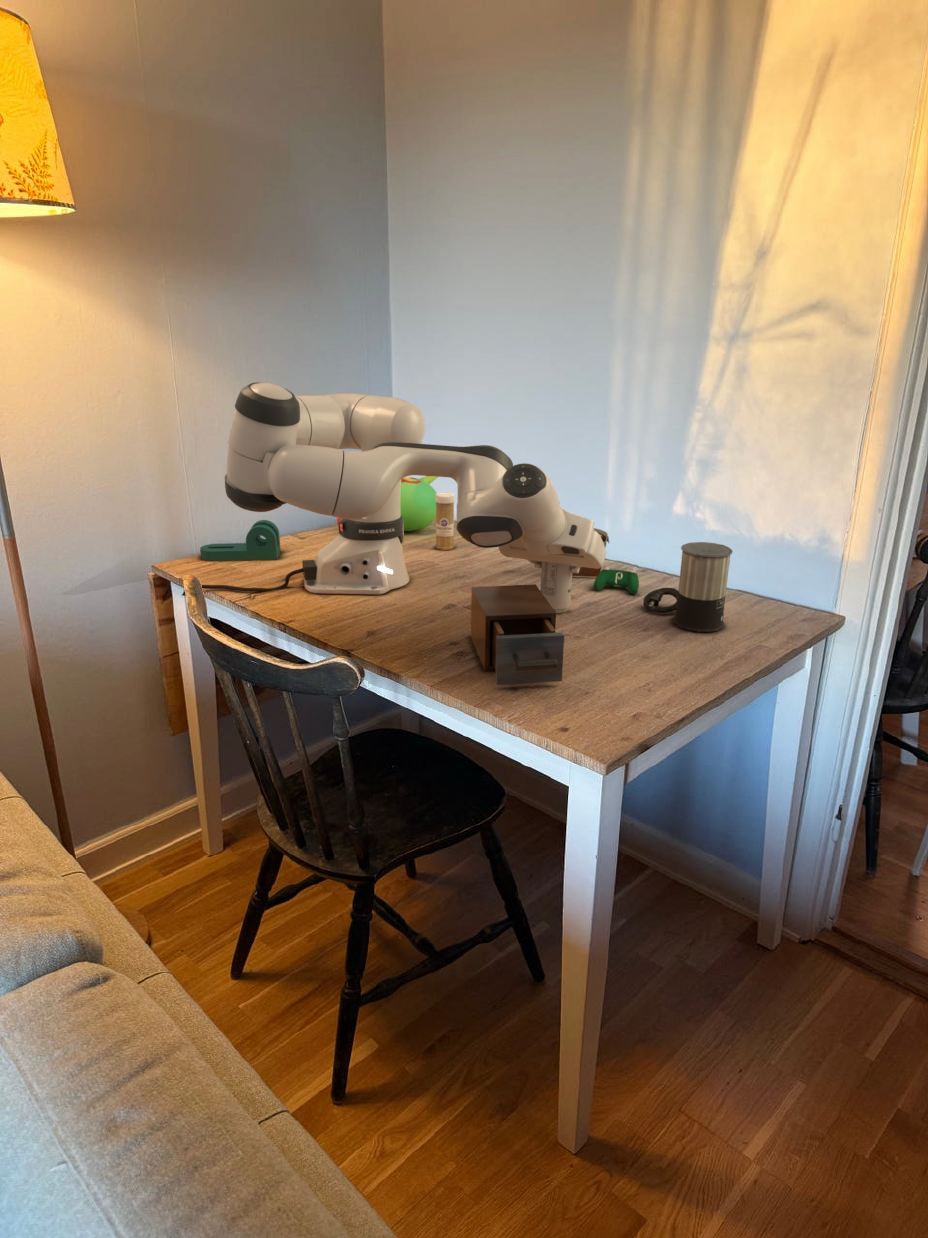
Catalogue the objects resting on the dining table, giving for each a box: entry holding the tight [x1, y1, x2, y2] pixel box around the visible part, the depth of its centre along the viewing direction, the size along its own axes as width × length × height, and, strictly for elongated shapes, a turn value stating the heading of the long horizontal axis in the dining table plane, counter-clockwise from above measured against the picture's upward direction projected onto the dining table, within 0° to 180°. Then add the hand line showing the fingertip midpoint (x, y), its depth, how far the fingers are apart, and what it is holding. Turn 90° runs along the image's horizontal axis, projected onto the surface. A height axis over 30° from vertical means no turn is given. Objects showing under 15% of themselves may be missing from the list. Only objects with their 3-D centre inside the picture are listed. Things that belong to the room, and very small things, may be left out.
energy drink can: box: [539, 562, 573, 614], centre depth 160 cm, size 6×6×15 cm
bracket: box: [199, 519, 282, 562], centre depth 194 cm, size 18×7×8 cm, turn 95°
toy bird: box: [400, 476, 439, 532], centre depth 217 cm, size 18×17×15 cm
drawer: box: [490, 618, 565, 686], centre depth 131 cm, size 18×10×8 cm, turn 8°
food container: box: [572, 527, 610, 579], centre depth 183 cm, size 12×6×10 cm, turn 84°
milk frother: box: [643, 541, 733, 633], centre depth 156 cm, size 14×16×15 cm
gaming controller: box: [593, 565, 640, 595], centre depth 174 cm, size 9×4×6 cm
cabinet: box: [470, 584, 557, 672], centre depth 141 cm, size 15×12×10 cm
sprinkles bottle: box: [435, 492, 455, 551], centre depth 201 cm, size 5×5×14 cm
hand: (558, 567), depth 160 cm, fingers closed on energy drink can, 6 cm apart
